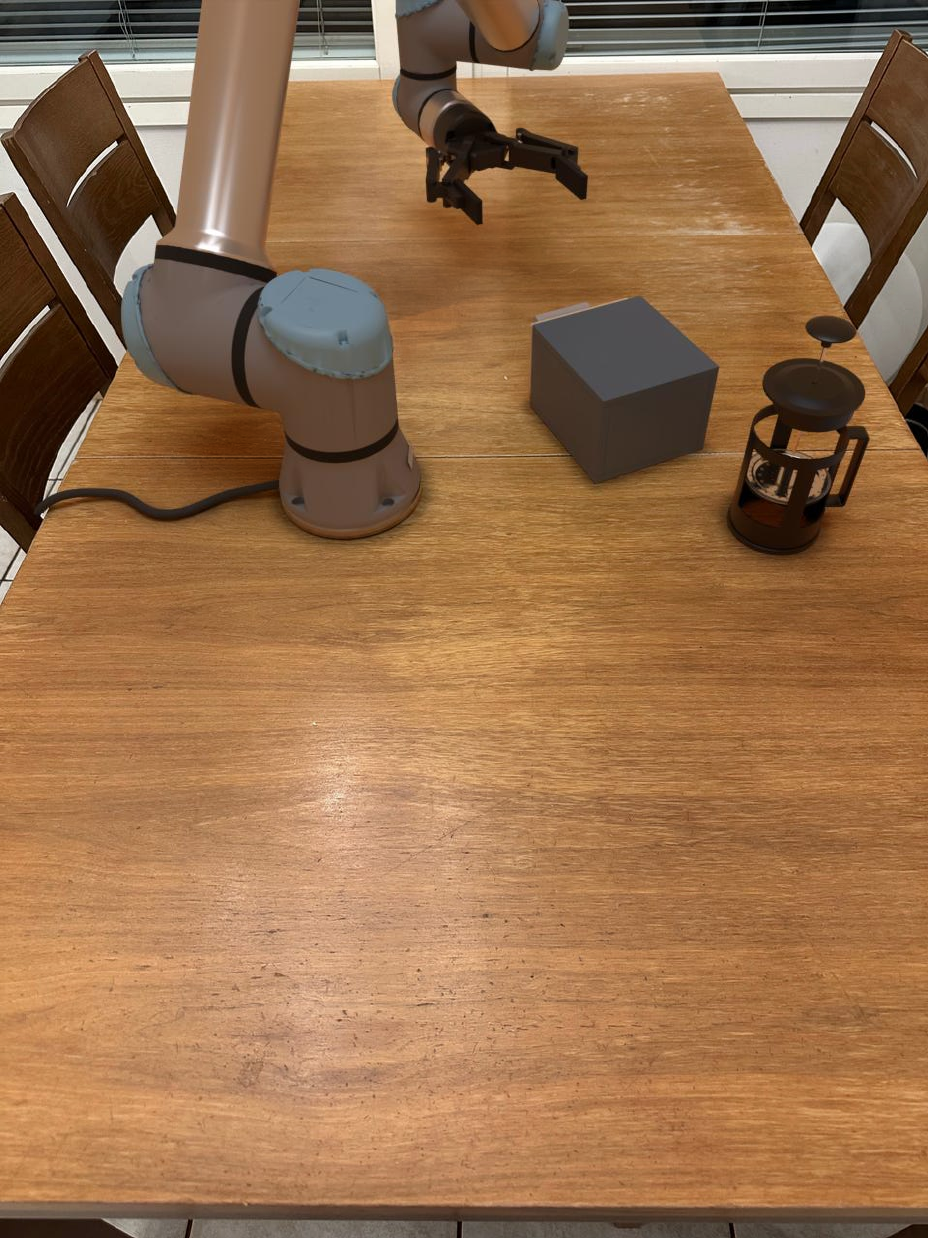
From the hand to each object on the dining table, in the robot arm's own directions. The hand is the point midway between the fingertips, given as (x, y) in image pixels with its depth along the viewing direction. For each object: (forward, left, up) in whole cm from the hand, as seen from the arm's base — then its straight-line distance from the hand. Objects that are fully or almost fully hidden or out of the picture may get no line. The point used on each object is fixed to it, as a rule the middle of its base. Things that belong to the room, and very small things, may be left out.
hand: (532, 200), depth 110 cm
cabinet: (+10, -19, -17) cm, 28 cm away
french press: (+26, -35, -18) cm, 47 cm away
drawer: (+8, -15, -16) cm, 24 cm away
